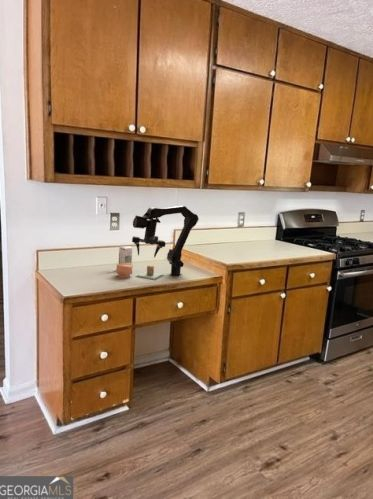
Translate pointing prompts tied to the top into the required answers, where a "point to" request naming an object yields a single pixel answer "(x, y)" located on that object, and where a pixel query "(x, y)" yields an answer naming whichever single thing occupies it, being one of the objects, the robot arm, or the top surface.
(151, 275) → the lid
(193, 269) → the top surface
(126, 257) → the syrup box
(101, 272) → the top surface
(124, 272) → the bowl
